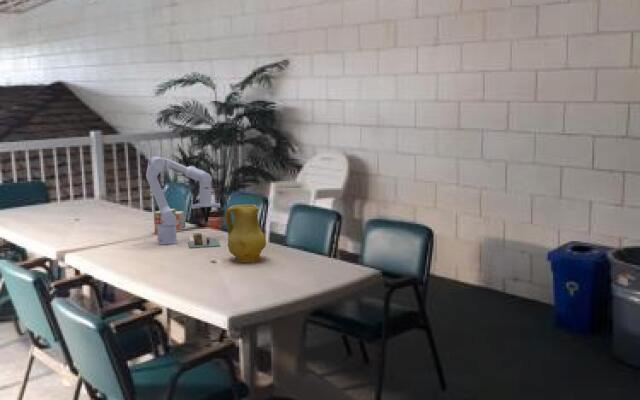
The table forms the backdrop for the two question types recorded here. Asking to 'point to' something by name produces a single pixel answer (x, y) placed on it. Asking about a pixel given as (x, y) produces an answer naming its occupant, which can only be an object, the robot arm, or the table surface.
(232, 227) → the pitcher
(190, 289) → the table surface
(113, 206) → the table surface
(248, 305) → the table surface
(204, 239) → the sliding jaw
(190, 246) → the vise base
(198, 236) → the walnut block
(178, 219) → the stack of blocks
